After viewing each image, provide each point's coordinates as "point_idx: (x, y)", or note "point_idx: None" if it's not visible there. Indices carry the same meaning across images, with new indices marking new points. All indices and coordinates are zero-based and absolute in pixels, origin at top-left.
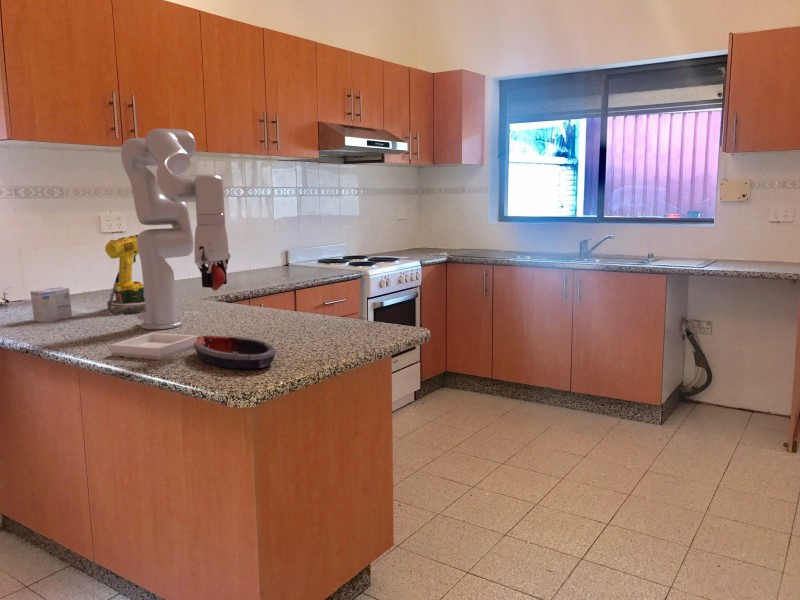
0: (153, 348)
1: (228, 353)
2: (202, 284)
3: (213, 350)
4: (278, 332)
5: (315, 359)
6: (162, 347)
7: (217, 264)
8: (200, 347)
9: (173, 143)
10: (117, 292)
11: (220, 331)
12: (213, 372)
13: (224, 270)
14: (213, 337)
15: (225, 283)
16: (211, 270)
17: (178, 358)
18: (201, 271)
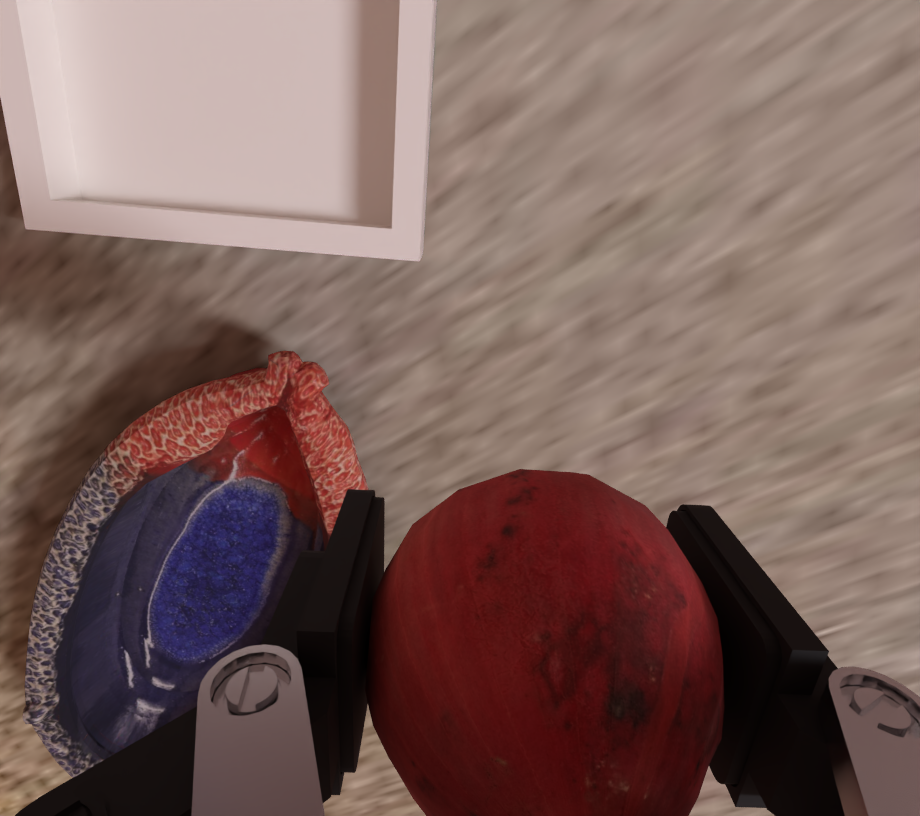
0: (17, 179)
1: (34, 680)
2: (345, 507)
3: (47, 599)
4: (805, 513)
5: (332, 807)
6: (58, 229)
7: (854, 807)
8: (75, 507)
9: None
10: None
11: (857, 147)
12: (24, 588)
13: (739, 790)
14: (301, 451)
15: None
16: (412, 785)
17: (145, 307)
18: (191, 718)
